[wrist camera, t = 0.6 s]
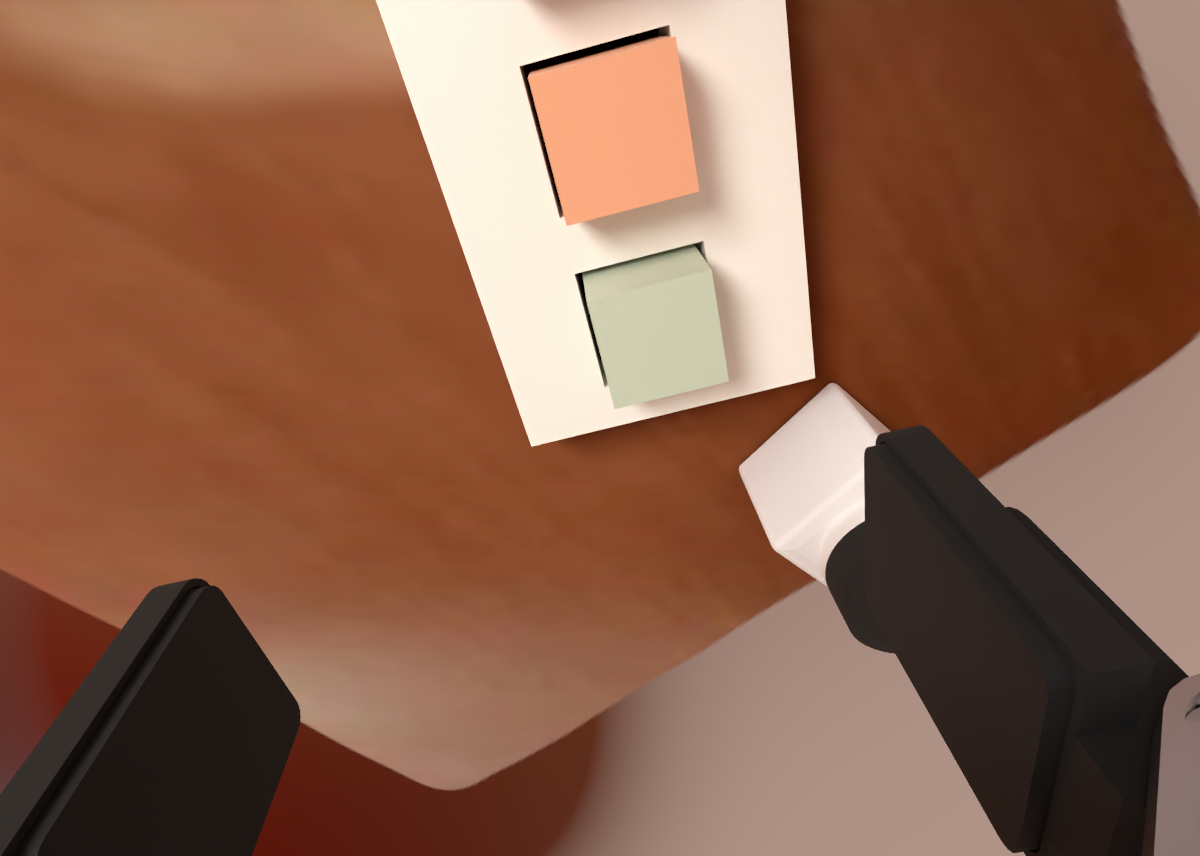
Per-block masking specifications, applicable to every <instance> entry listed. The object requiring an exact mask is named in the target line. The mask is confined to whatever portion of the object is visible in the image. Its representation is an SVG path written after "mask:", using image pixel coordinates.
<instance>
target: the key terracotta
mask: <svg viewBox="0 0 1200 856" xmlns="http://www.w3.org/2000/svg"><path fill="white" fill-rule="evenodd" d="M528 80H529V84H530V88H531V92H532V96H533V99H534V103H535V107H536V111H537V115H538V119H539V122H540V126H541V130H542V134H543V138H544V141H545V145H546V149H547V153H548V157H549V161H550V164H551V168H552V172H553V176H554V180H555V183H556V187H557V191H558V195H559V199H560V203H561V206H562V210H563V214H564V218H565V222H566V225H567V226H569V225H573V224H577V223H581V222H585V221H588V220H592V219H596V218H600V217H604V216H607V215H611V214H615V213H619V212H623V211H627V210H630V209H634V208H638V207H642V206H646V205H650V204H653V203H657V202H661V201H665V200H669V199H673V198H676V197H680V196H684V195H688V194H692V193H696V192H699V185H698V178H697V172H696V165H695V159H694V152H693V146H692V140H691V133H690V127H689V120H688V114H687V107H686V101H685V94H684V88H683V81H682V75H681V69H680V62H679V56H678V49H677V43H676V37H668V36H657V37H654V38H650V39H646V40H643V41H639V42H636V43H632V44H628V45H625V46H621V47H618V48H614V49H610V50H607V51H603V52H600V53H596V54H592V55H589V56H585V57H581V58H578V59H574V60H571V61H567V62H563V63H560V64H556V65H553V66H549V67H545V68H542V69H538V70H534V71H531V72H530V74H529V76H528Z"/></svg>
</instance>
